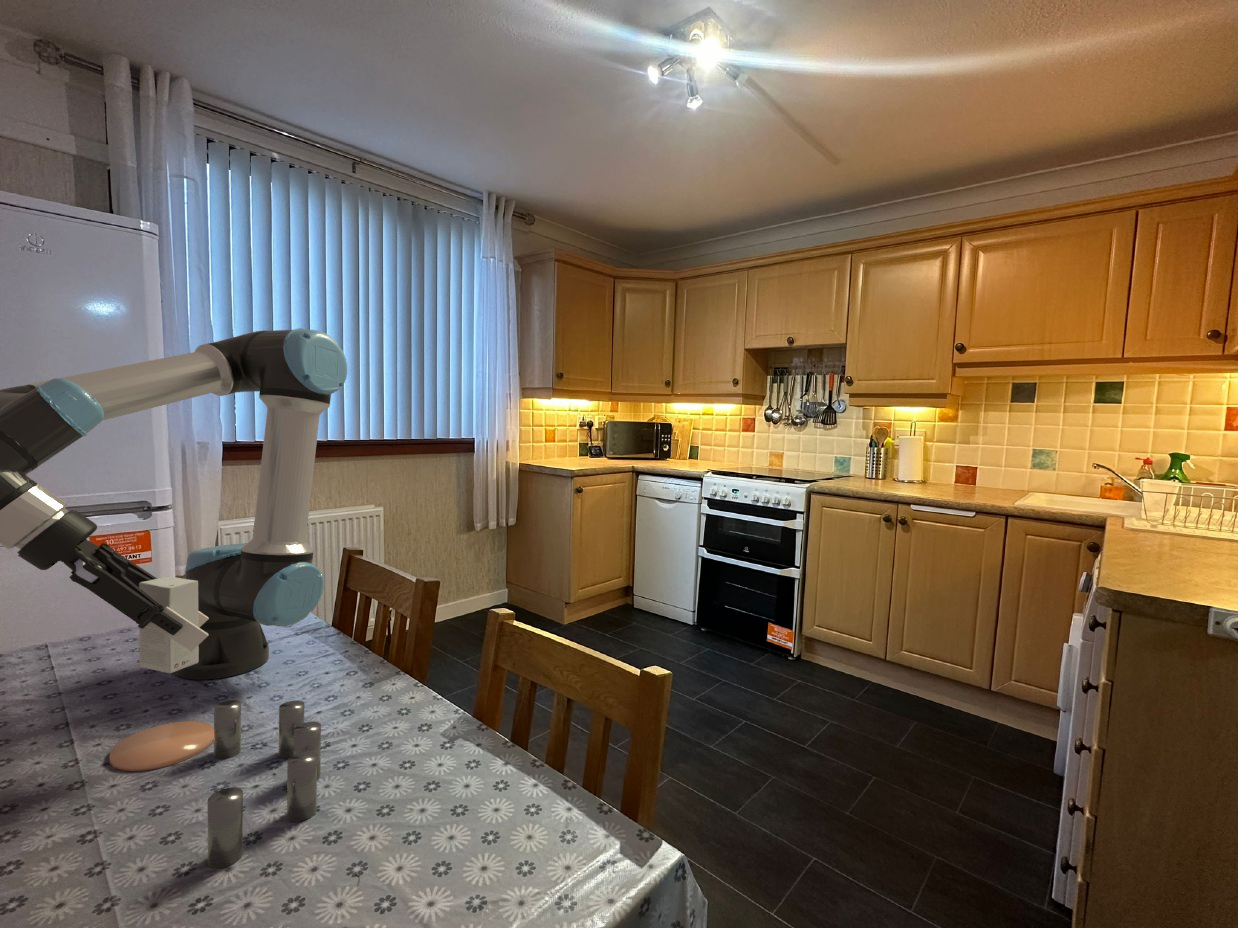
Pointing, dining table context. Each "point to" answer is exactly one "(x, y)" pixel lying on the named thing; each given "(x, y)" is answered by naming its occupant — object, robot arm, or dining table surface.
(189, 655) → the skincare box
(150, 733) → the saucer
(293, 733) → the set of grey cylinders
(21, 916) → the dining table surface
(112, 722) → the dining table surface
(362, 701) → the dining table surface
